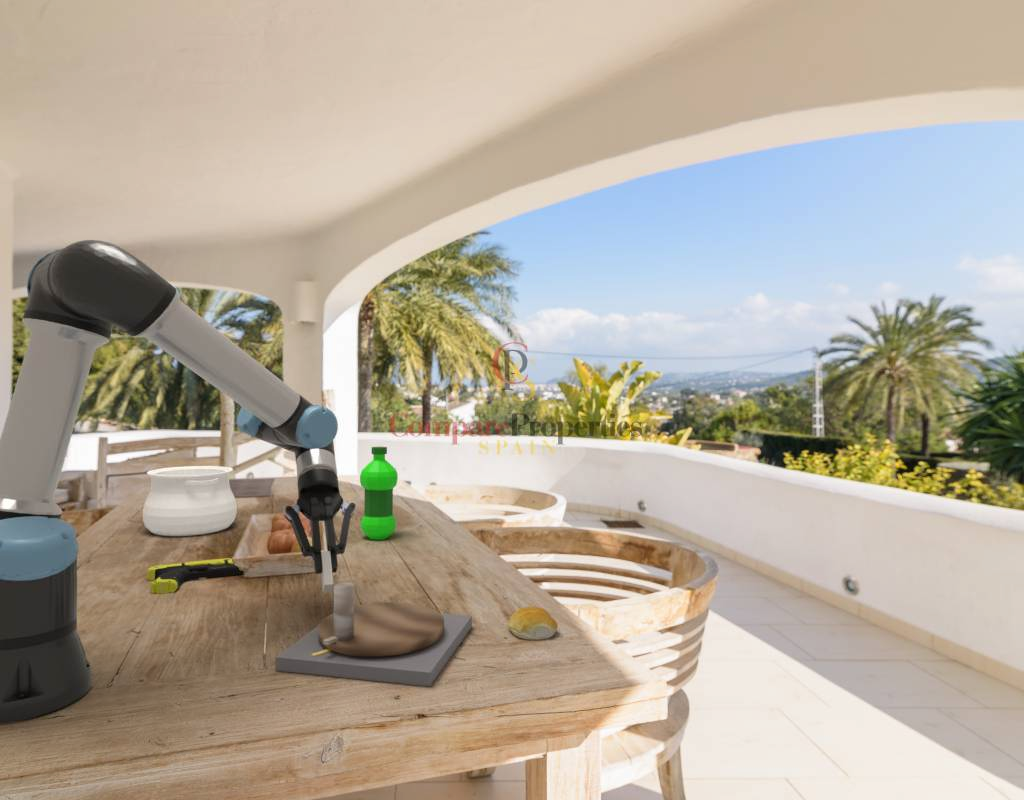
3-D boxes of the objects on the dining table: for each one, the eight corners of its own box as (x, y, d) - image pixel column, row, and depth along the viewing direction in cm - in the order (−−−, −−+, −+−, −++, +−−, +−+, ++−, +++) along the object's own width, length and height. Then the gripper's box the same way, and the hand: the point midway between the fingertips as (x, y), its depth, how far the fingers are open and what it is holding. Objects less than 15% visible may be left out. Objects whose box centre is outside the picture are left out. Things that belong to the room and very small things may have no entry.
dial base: (430, 686, 95) (430, 671, 95) (275, 670, 100) (275, 655, 100) (471, 626, 119) (472, 614, 119) (345, 616, 124) (345, 604, 124)
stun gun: (249, 572, 142) (241, 555, 156) (146, 583, 133) (147, 564, 147) (249, 586, 142) (241, 568, 156) (145, 598, 133) (147, 578, 147)
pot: (132, 527, 195) (132, 469, 194) (219, 516, 211) (219, 463, 211) (156, 543, 176) (156, 479, 175) (250, 530, 192) (250, 472, 192)
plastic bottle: (390, 542, 180) (391, 449, 179) (353, 540, 182) (354, 448, 181) (402, 534, 190) (403, 446, 189) (367, 532, 192) (367, 445, 191)
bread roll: (547, 621, 123) (547, 599, 123) (561, 639, 114) (562, 616, 114) (503, 624, 121) (503, 602, 121) (514, 643, 112) (514, 619, 112)
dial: (384, 603, 123) (385, 551, 123) (468, 627, 112) (469, 571, 111) (284, 638, 106) (284, 578, 106) (371, 671, 94) (371, 604, 94)
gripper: (349, 488, 135) (363, 595, 120) (281, 491, 130) (286, 603, 115) (354, 465, 130) (369, 573, 115) (283, 467, 125) (289, 581, 110)
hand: (328, 588), depth 115 cm, fingers closed
